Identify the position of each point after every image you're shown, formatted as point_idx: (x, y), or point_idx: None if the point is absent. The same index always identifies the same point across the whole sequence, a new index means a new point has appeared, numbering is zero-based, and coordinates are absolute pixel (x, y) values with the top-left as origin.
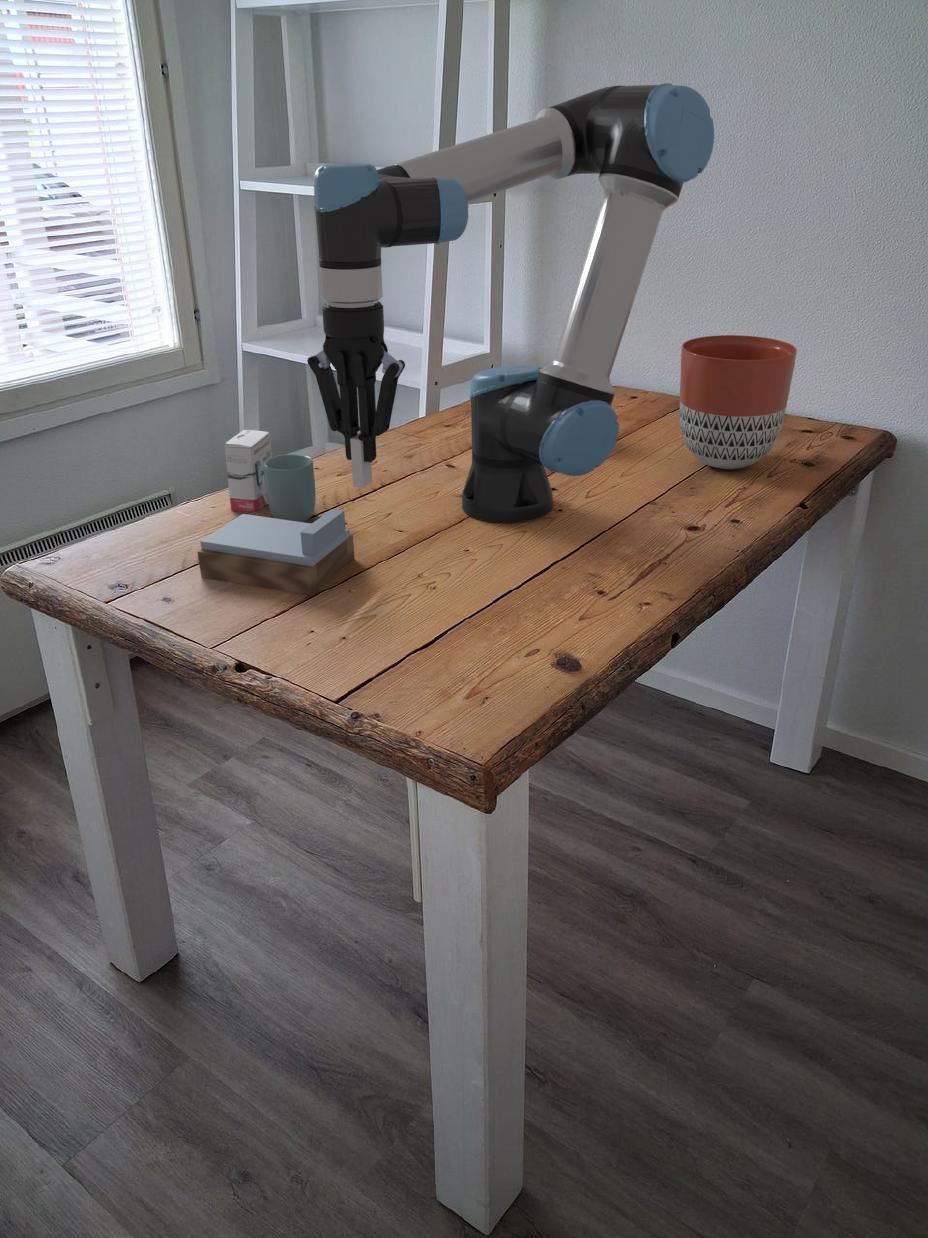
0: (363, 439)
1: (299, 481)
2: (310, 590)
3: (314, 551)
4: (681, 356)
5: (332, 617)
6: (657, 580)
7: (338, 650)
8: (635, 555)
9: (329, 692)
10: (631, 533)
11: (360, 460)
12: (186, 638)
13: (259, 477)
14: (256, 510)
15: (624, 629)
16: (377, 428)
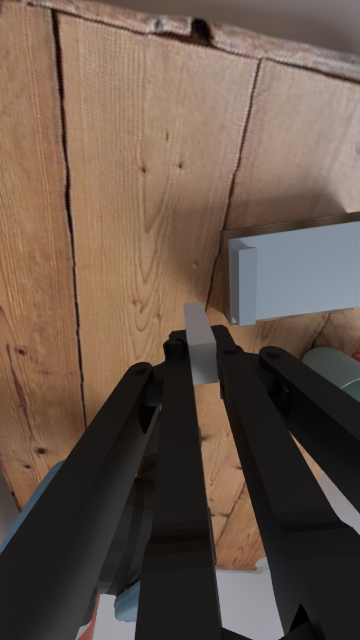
0: (171, 341)
1: (329, 377)
2: (222, 231)
3: (232, 248)
4: (82, 636)
5: (180, 206)
6: (4, 383)
7: (132, 140)
8: (43, 408)
9: (76, 32)
10: (69, 432)
11: (187, 322)
12: (301, 67)
13: None
14: (355, 356)
15: None
16: (135, 376)
